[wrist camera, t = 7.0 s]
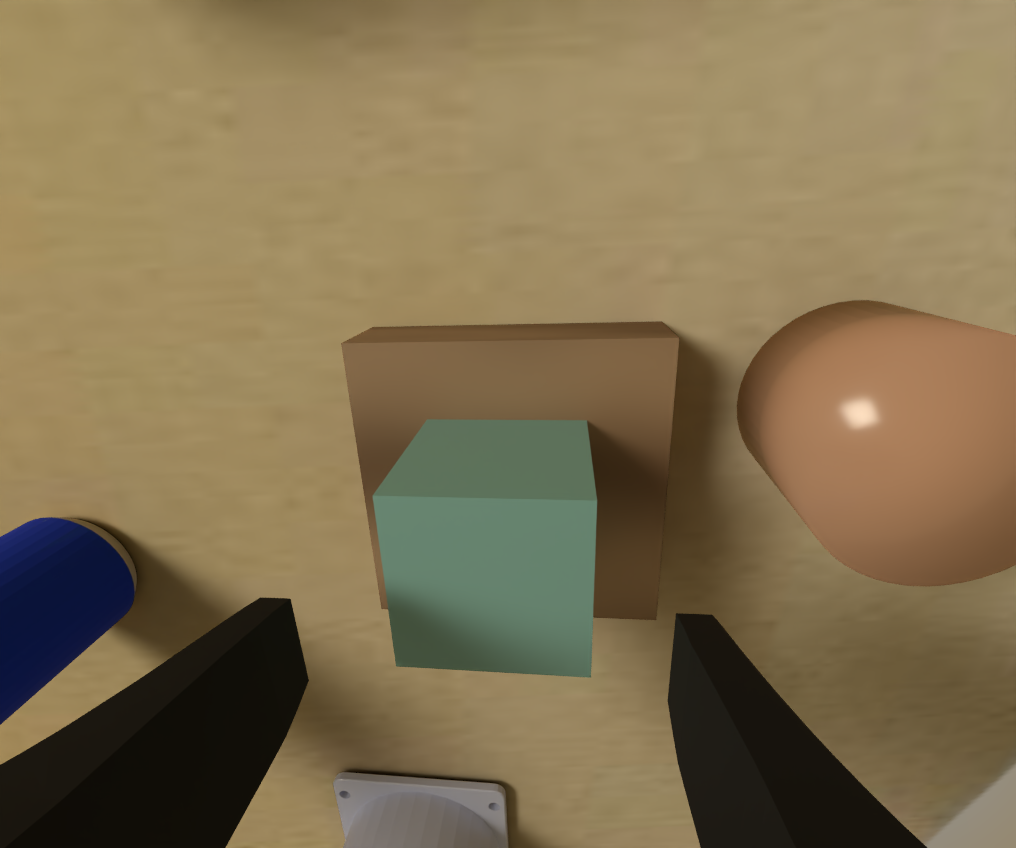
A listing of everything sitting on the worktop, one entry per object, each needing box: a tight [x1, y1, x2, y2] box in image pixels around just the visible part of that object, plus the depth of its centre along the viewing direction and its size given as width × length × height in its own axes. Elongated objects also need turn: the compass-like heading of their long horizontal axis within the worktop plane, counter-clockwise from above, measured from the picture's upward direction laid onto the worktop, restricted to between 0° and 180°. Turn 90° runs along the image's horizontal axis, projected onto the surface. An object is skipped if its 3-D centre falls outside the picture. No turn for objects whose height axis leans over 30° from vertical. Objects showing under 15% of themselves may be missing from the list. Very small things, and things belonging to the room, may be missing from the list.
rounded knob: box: [737, 300, 1016, 586], centre depth 13 cm, size 6×6×5 cm
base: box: [341, 322, 679, 620], centre depth 16 cm, size 9×9×2 cm
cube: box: [373, 419, 597, 677], centre depth 13 cm, size 4×4×4 cm
